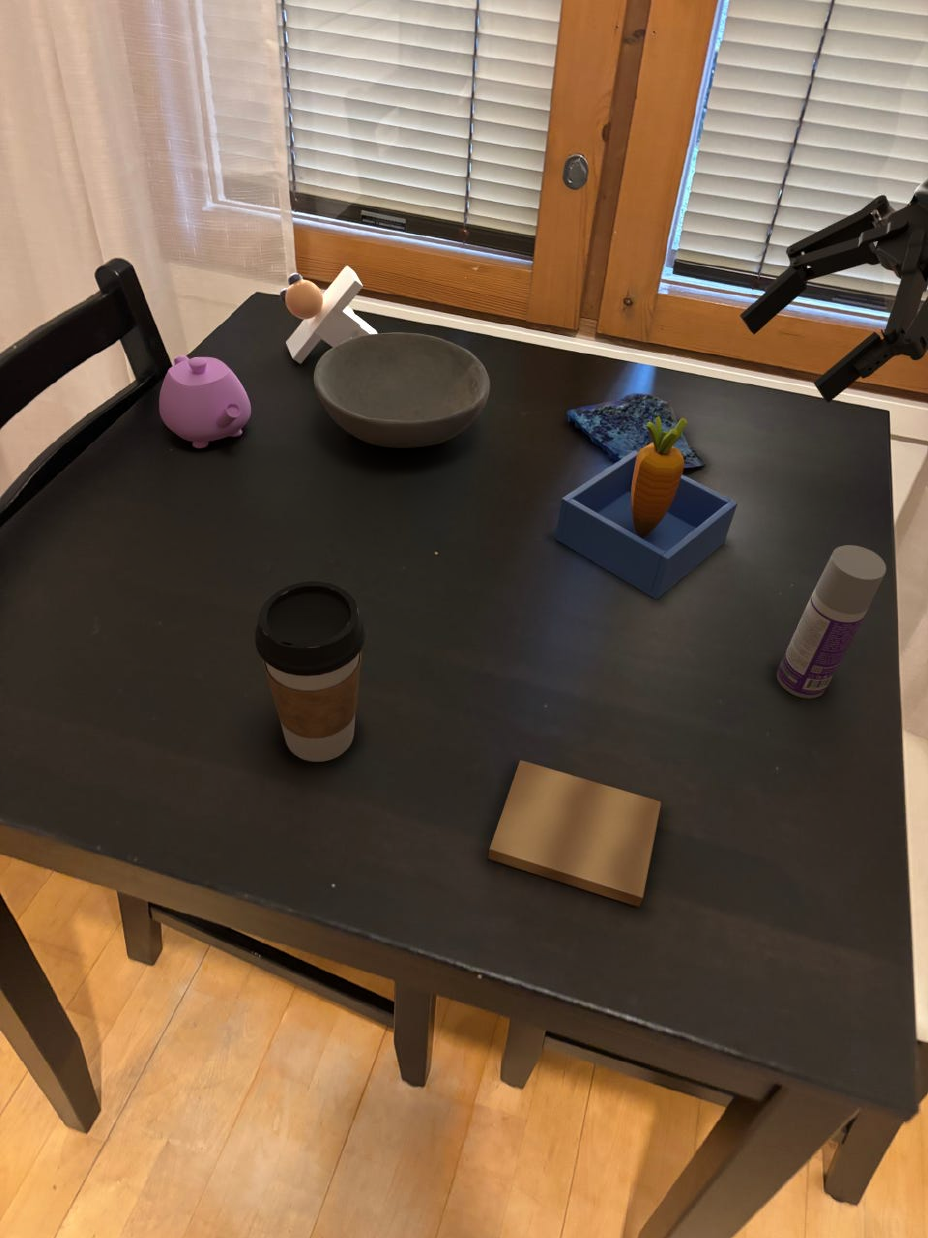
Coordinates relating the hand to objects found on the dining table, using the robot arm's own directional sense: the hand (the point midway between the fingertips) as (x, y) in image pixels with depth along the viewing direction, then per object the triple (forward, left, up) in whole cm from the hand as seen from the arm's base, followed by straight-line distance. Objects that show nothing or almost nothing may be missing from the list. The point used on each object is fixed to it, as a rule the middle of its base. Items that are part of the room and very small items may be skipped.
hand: (781, 357), depth 86 cm
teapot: (+54, +31, -21) cm, 66 cm away
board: (-13, +44, -21) cm, 51 cm away
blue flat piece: (+17, -8, -21) cm, 29 cm away
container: (-18, +15, -21) cm, 32 cm away
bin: (+5, +9, -21) cm, 24 cm away
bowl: (+39, +13, -21) cm, 47 cm away
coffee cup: (+9, +52, -21) cm, 57 cm away
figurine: (+60, +6, -21) cm, 64 cm away
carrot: (+5, +9, -21) cm, 23 cm away
